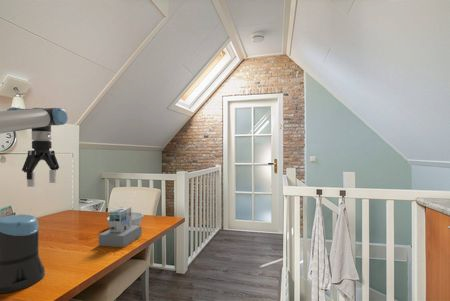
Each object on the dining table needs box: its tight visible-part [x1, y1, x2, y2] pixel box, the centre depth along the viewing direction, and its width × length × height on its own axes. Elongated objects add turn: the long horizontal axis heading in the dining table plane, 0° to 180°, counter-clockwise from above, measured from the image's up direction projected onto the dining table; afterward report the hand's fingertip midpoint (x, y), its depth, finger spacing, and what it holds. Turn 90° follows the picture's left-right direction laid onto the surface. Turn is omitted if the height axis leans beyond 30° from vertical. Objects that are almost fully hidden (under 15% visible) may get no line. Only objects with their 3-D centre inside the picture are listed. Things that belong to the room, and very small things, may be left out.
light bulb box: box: [108, 206, 132, 233], centre depth 124 cm, size 11×7×11 cm, turn 173°
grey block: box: [98, 225, 143, 248], centre depth 124 cm, size 16×14×6 cm
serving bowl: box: [106, 211, 144, 227], centre depth 146 cm, size 21×21×7 cm
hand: (42, 184), depth 113 cm, fingers open, 13 cm apart
